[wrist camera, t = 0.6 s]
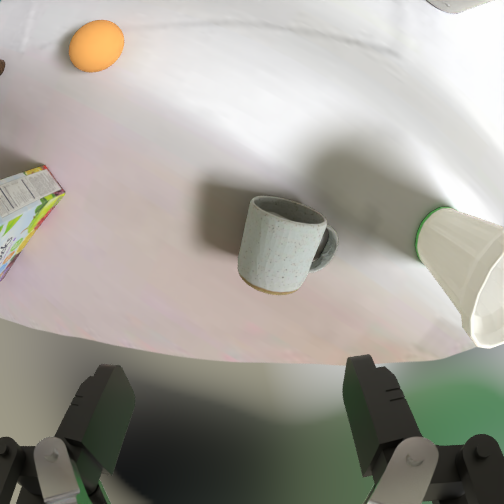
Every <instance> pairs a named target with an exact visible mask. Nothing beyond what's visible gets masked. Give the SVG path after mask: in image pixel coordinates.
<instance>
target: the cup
mask: <svg viewBox="0 0 504 504" xmlns="http://www.w3.org/2000/svg"><path fill="white" fill-rule="evenodd" d="M415 248H416V252H417V255H418V258H419V259H420V260H421V262H422V263H423V264H424V265H425V266H426V267H427V269H428V270H429V271H430V273H431V274H432V275H433V277H434V278H435V279H436V281H437V282H438V283H439V285H440V286H441V287H442V289H443V290H444V291H445V293H446V294H447V296H448V297H449V298H450V300H451V301H452V303H453V304H454V305H455V307H456V308H457V310H458V311H459V313H460V314H461V318H462V327H463V328H464V330H465V331H466V333H467V334H468V336H469V337H470V338H471V340H472V341H473V342H474V344H475V345H476V346H477V347H483V348H493V347H495V346H498V345H500V344H503V343H504V227H502V226H499V225H496V224H494V223H491V222H488V221H485V220H482V219H479V218H476V217H474V216H471V215H468V214H465V213H461V212H458V211H457V210H455V209H452V208H450V207H439V208H437V209H435V210H434V211H432V212H431V213H429V214H428V215H427V216H426V218H425V219H424V220H423V221H422V222H421V225H420V227H419V229H418V232H417V236H416V243H415Z"/></svg>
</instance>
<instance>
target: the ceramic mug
mask: <svg viewBox="0 0 504 504" xmlns="http://www.w3.org/2000/svg"><path fill="white" fill-rule="evenodd" d="M326 228H327V229H328V231H329V239H328V242H327V244H326V246H325V248H324V251H323V252H322V254H321V256H320V257H319V258H318V259H317V260H315V261H314V262H312V261H313V258H314V256H315V253H316V251H317V249H318V246H319V244H320V241H321V239H322V236H323V234H324V232H325V229H326ZM338 242H339V239H338V235H337V233H336V231H335V230H334V229H333V228H332V227H331V226H330V225H328V224H327V219H326V218H325V217H324V216H323V215H322V214H321V213H319V212H318V211H316V210H314V209H312V208H310V207H308V206H306V205H304V204H301V203H298V202H294V201H291V200H288V199H284V198H279V197H274V196H257V197H254V198H253V199H252V200H251V201H250V205H249V209H248V214H247V219H246V223H245V228H244V233H243V238H242V242H241V247H240V251H239V256H238V272H239V275H240V276H241V278H242V279H243V280H244V281H245V282H246V283H247V284H248V285H249V286H251V287H252V288H254V289H256V290H258V291H261V292H264V293H267V294H272V295H286V294H290V293H293V292H295V291H297V290H298V289H299V288H300V286H301V285H302V283H303V282H304V280H305V278H306V277H307V274H308V273H314V272H316V271H319V270H321V269H322V268H324V267H325V266H326V265H327V264H328V263H329V262H330V261H331V259H332V258H333V256H334V255H335V252H336V250H337V247H338Z"/></svg>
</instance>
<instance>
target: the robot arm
mask: <svg viewBox="0 0 504 504" xmlns="http://www.w3.org/2000/svg"><path fill="white" fill-rule="evenodd" d="M428 1H429V2H430V3H431V4H432V5H434V6H435V7H437V8H438V9H440V10H442V11H445V12H447V13H452V14H458V13H460V12H463V11H465V10H468V9H471V8H473V7H476V6H479V5H482V4H485V3H487V2H490V1H493V0H428ZM404 397H405V396H404V394H403V392H402V390H401V389H400V386H399V383H398V381H397V379H396V377H395V375H394V374H392V373H391V371H389V370H388V369H387V368H386V367H378V368H376V366H375V364H374V362H373V359H372V357H371V356H370V355H369V354H367V355H361V356H354V357H348V359H347V363H346V370H345V376H344V382H343V400H344V405H345V408H346V412H347V416H348V419H349V423H350V427H351V431H352V435H353V439H354V443H355V447H356V451H357V455H358V459H359V463H360V467H361V472H362V476H363V477H367V476H371V475H372V476H373V480H374V486H373V487H372V489H371V491H370V493H369V494H368V496H367V498H366V500H365V501H364V503H363V504H421V503H422V501H432V503H433V504H504V456H503V454H502V451H501V449H500V447H499V445H498V443H497V441H496V440H495V439H494V438H493V437H491V436H489V435H486V434H478V435H475V436H473V437H471V438H470V439H469V440H468V441H467V442H466V443H465V445H450V446H439V445H435V444H434V443H433V442H431V441H430V440H428V439H426V438H424V437H423V436H422V435H421V433H420V431H419V428H418V426H417V424H416V421H415V419H414V417H413V414H412V412H411V410H410V408H409V405H408V403H407V401H406V399H405V398H404ZM134 407H135V394H134V391H133V389H132V387H131V386H130V383H129V381H128V379H127V377H126V375H125V373H124V371H123V369H122V367H121V366H119V365H108V364H101V365H99V367H98V368H97V370H96V372H95V374H94V376H90V377H88V378H87V379H86V380H85V381H84V382H83V383H82V384H81V385H80V387H79V389H78V391H77V393H76V395H75V397H74V398H73V401H72V402H71V405H70V406H69V408H68V410H67V412H66V414H65V416H64V418H63V420H62V422H61V424H60V426H59V428H58V430H57V432H56V434H55V436H54V437H47V438H44V439H43V440H41V441H40V442H39V443H38V444H37V445H36V446H19V445H18V444H17V443H16V442H15V441H14V440H13V439H12V438H10V437H2V438H0V504H10V501H11V498H12V495H13V492H14V489H15V486H16V483H18V484H20V485H21V486H22V488H21V491H20V494H19V497H18V500H17V502H16V504H111V502H110V500H109V498H108V496H107V494H106V491H105V489H104V487H103V485H102V482H101V481H100V479H99V478H100V476H101V473H103V474H107V475H111V476H112V474H113V472H114V468H115V465H116V462H117V459H118V456H119V452H120V449H121V446H122V443H123V440H124V437H125V434H126V431H127V428H128V425H129V422H130V419H131V416H132V413H133V410H134Z"/></svg>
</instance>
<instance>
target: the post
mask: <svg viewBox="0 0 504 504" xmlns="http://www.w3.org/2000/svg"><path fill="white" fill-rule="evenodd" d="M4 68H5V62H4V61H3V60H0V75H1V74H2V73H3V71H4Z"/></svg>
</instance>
